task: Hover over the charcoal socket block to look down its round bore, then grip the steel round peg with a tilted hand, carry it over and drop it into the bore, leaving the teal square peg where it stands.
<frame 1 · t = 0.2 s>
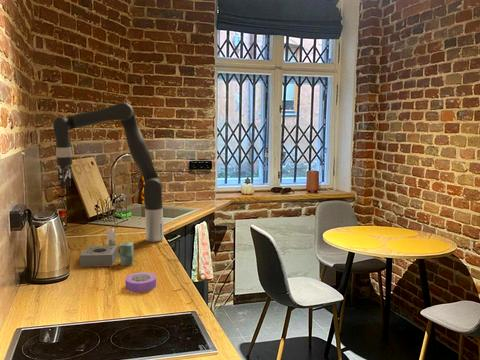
hand: (65, 187, 226), 29 cm above the worktop, tool pointing down, fingers open, 8 cm apart
socket block: (99, 260, 200), on the worktop
masking tape: (141, 287, 170), on the worktop
square peg: (127, 263, 197), on the worktop
steel peg: (111, 250, 216), on the worktop
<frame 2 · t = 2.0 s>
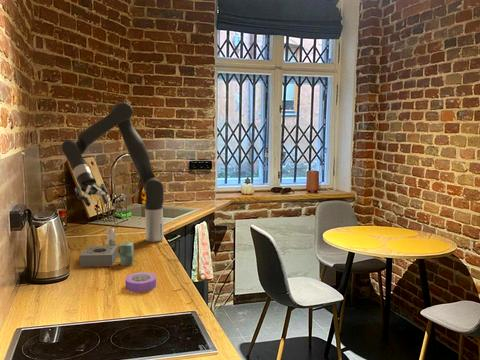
hand: (98, 204, 195), 27 cm above the worktop, tool tilted 45°, fingers open, 8 cm apart
nothing on the worktop moved.
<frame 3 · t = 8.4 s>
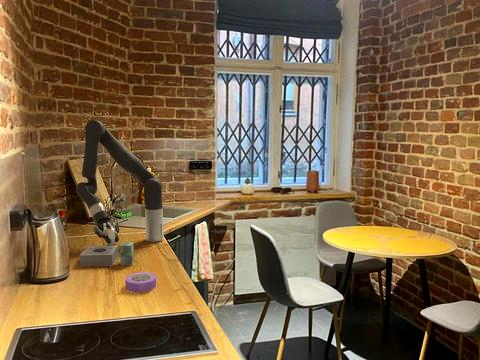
hand: (113, 242, 214), 5 cm above the worktop, tool tilted 45°, fingers closed on steel peg, 4 cm apart
steel peg: (111, 250, 216), on the worktop, touching gripper
everything else where it was.
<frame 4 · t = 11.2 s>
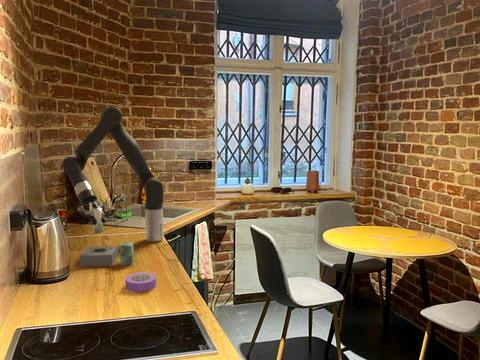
hand: (100, 223, 196), 18 cm above the worktop, tool tilted 45°, fingers closed on steel peg, 4 cm apart
steel peg: (98, 232, 198), point 14 cm above the worktop, touching gripper
everything else where it was.
when the fingers open (8 cm above the worktop, at t = 13.9 s): steel peg drops 3 cm, resting in socket block.
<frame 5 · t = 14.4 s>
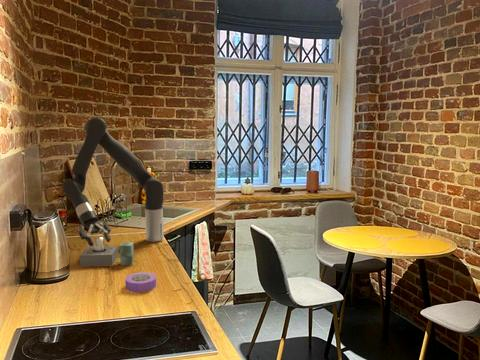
hand: (100, 243, 198), 9 cm above the worktop, tool tilted 45°, fingers open, 8 cm apart
steel peg: (99, 260, 200), resting in socket block
everything else where it was.
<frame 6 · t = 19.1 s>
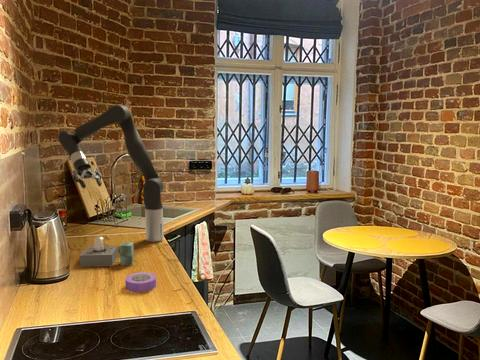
hand: (92, 186, 219), 31 cm above the worktop, tool tilted 45°, fingers open, 8 cm apart
nothing on the worktop moved.
at the end: steel peg 0.1 cm off-centre on the socket block, point 0.0 cm above the socket block's base; steel peg tilted 0°; square peg moved 0.1 cm from its start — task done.
